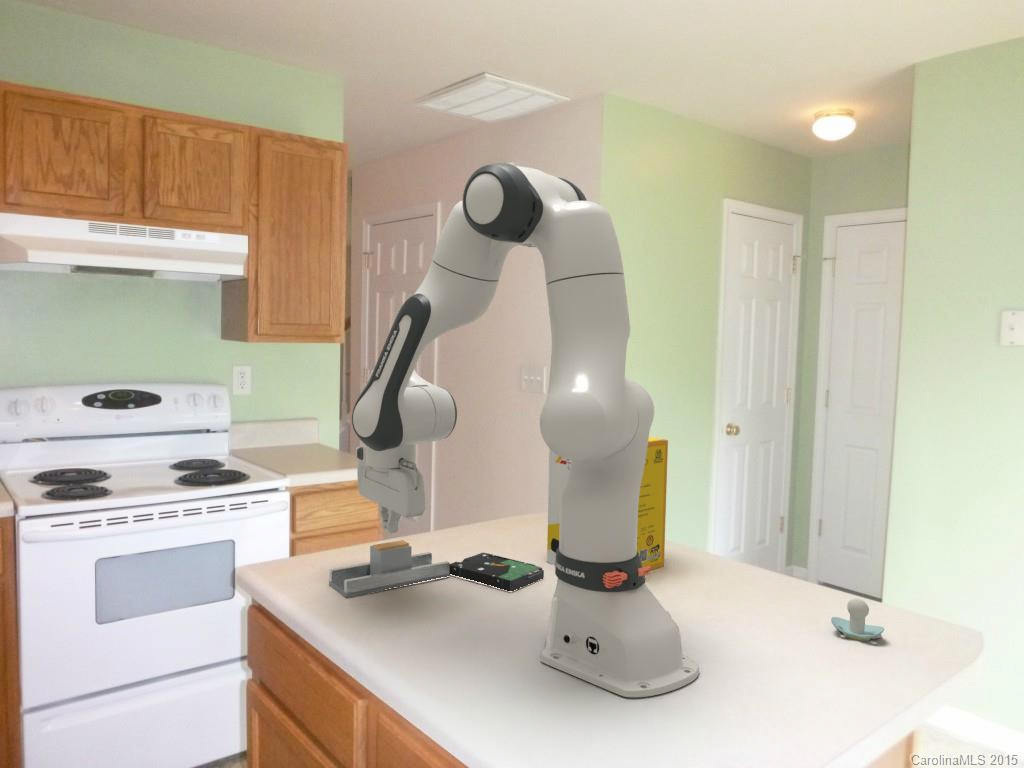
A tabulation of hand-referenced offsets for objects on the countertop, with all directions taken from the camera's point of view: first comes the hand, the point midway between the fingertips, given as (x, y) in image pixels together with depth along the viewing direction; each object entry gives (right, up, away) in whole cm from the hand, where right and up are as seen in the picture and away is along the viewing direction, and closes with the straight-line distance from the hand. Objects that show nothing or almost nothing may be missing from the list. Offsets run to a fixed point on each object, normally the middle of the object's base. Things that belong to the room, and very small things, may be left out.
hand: (389, 530), depth 136 cm
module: (0, -8, 0) cm, 8 cm away
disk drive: (+19, -10, +4) cm, 22 cm away
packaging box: (+40, -9, +13) cm, 43 cm away
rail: (0, -9, +1) cm, 9 cm away
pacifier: (+75, -12, -20) cm, 78 cm away
